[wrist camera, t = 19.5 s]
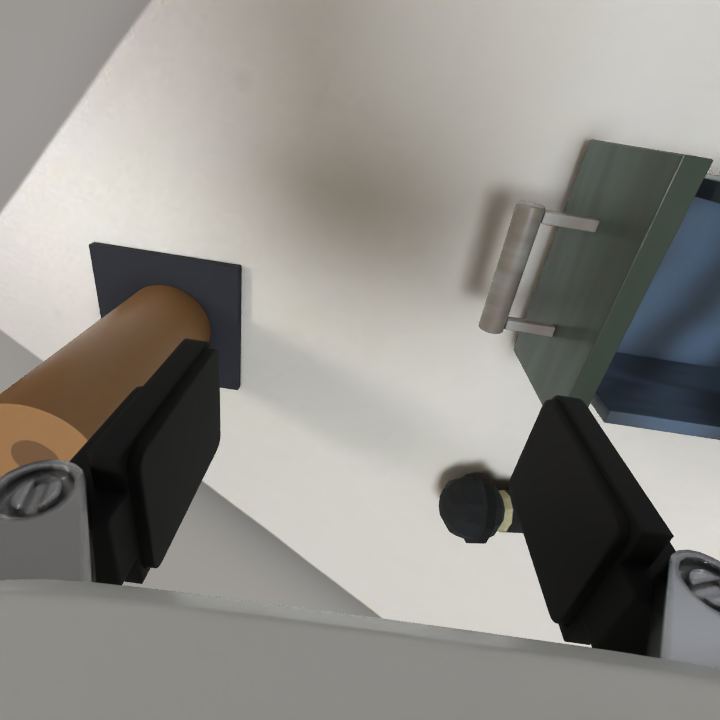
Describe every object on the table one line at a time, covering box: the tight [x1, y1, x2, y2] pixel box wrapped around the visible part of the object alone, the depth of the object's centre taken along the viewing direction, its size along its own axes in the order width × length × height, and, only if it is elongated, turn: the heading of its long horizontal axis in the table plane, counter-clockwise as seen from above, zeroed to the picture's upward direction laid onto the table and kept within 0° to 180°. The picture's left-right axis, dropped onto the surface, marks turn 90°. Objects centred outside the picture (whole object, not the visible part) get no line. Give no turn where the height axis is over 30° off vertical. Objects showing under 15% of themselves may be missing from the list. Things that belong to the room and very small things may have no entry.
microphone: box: [439, 472, 523, 543], centre depth 38 cm, size 6×6×20 cm
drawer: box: [479, 140, 720, 440], centre depth 24 cm, size 21×13×9 cm, turn 82°
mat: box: [89, 242, 241, 390], centre depth 32 cm, size 10×10×1 cm
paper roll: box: [0, 285, 211, 477], centre depth 26 cm, size 6×6×14 cm
